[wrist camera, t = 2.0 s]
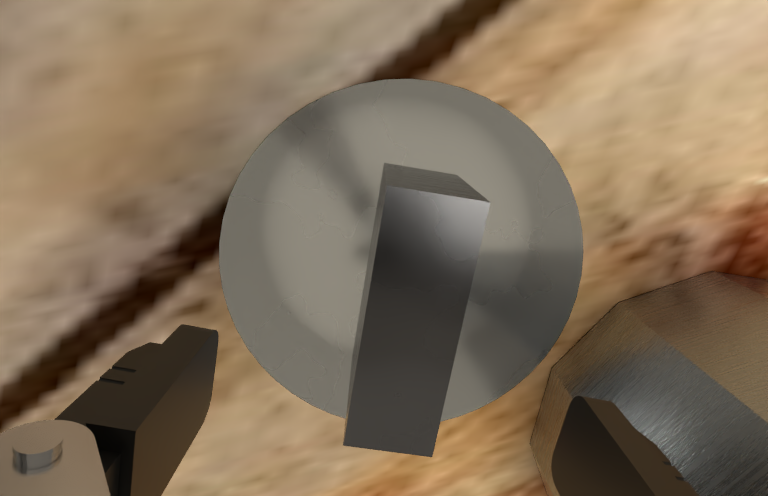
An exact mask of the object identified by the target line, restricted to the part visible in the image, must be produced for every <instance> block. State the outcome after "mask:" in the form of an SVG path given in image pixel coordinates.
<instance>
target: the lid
mask: <svg viewBox="0 0 768 496" xmlns="http://www.w3.org/2000/svg"><path fill="white" fill-rule="evenodd" d="M582 262H583V238H582V227H581V222H580V217H579V212H578V207H577V204H576V201H575V198H574V195H573V192H572V189H571V187H570V184H569V182H568V180H567V178H566V176H565V174H564V172H563V170H562V168H561V167H560V165H559V163H558V162H557V160H556V159H555V157H554V156H553V155H552V153H551V152H550V150H549V149H548V147H547V146H546V145H545V143H544V142H543V141H542V140H541V139H540V138H539V137H538V136H537V135H536V134H535V133H534V132H533V131H532V130H531V129H530V128H529V127H528V126H527V125H526V124H525V123H523V122H522V121H521V120H520V119H518V118H517V117H516V116H515V115H513V114H512V113H511V112H510V111H508V110H507V109H505V108H503V107H501V106H500V105H498V104H496V103H495V102H493V101H491V100H489V99H488V98H486V97H483V96H481V95H478V94H476V93H473V92H471V91H469V90H466V89H464V88H460V87H456V86H452V85H448V84H444V83H440V82H436V81H427V80H417V79H390V80H380V81H374V82H368V83H362V84H357V85H354V86H351V87H348V88H345V89H342V90H338V91H335V92H333V93H330V94H328V95H326V96H324V97H322V98H320V99H318V100H316V101H314V102H312V103H310V104H308V105H307V106H305V107H304V108H302V109H301V110H299V111H298V112H296V113H294V114H293V115H291V116H290V117H288V118H287V119H286V120H285V121H284V122H283V123H282V124H280V125H279V126H278V127H277V128H276V129H275V130H274V131H273V132H271V133H270V134H269V135H268V136H267V138H266V139H265V140H264V141H263V142H262V143H261V145H260V146H259V147H258V148H257V149H256V150H255V152H254V153H253V154H252V156H251V157H250V159H249V160H248V162H247V164H246V165H245V167H244V168H243V170H242V171H241V173H240V175H239V177H238V179H237V181H236V183H235V186H234V188H233V190H232V192H231V194H230V197H229V200H228V203H227V207H226V210H225V214H224V217H223V221H222V228H221V235H220V242H219V267H220V275H221V282H222V289H223V292H224V296H225V300H226V303H227V307H228V310H229V313H230V315H231V317H232V320H233V322H234V324H235V327H236V329H237V331H238V333H239V334H240V336H241V338H242V339H243V341H244V343H245V345H246V346H247V348H248V349H249V351H250V352H251V353H252V355H253V356H254V357H255V358H256V360H257V361H258V362H259V364H260V365H261V366H262V367H263V368H264V369H265V370H266V371H267V372H268V373H269V374H270V375H271V376H272V377H273V378H274V379H275V380H276V381H277V382H278V383H280V384H281V385H282V386H284V387H285V388H286V389H287V390H289V391H290V392H291V393H293V394H294V395H296V396H297V397H299V398H301V399H302V400H304V401H306V402H307V403H309V404H311V405H312V406H315V407H317V408H319V409H321V410H324V411H326V412H328V413H330V414H333V415H336V416H339V417H342V418H346V422H345V432H344V442H343V445H344V446H351V447H359V448H366V449H374V450H382V451H389V452H397V453H405V454H412V455H420V456H427V457H432V455H433V451H434V447H435V442H436V438H437V433H438V429H439V425H440V421H444V420H448V419H452V418H455V417H459V416H461V415H464V414H466V413H469V412H471V411H474V410H477V409H479V408H481V407H483V406H485V405H486V404H488V403H490V402H492V401H494V400H496V399H498V398H499V397H501V396H502V395H503V394H505V393H506V392H508V391H509V390H511V389H512V388H514V387H515V386H516V385H517V384H518V383H520V382H521V381H522V380H523V379H524V378H525V377H526V376H528V375H529V374H530V373H531V372H532V371H533V370H534V369H535V368H536V366H537V365H538V364H539V363H540V362H541V361H542V360H543V359H544V357H545V356H546V355H547V354H548V352H549V351H550V349H551V348H552V346H553V345H554V344H555V342H556V341H557V339H558V338H559V336H560V334H561V332H562V330H563V328H564V326H565V324H566V322H567V321H568V319H569V316H570V313H571V311H572V308H573V305H574V303H575V300H576V297H577V292H578V288H579V284H580V279H581V273H582Z"/></svg>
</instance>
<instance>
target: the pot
mask: <svg viewBox="0 0 768 496" xmlns="http://www.w3.org/2000/svg"><path fill="white" fill-rule="evenodd" d="M576 396H584V397H589V398H595V399H601V400H606V401H611V402H613V403H614V404H615V405H616V406H617V407H618V409H619V410H620V411H621V412H622V413H623V415H624V416H625V417H626V418H627V419H628V421H629V422H630V423H631V424H632V425H633V427H634V428H635V429H636V430H638V431H639V432H640V433H641V434H643V435H644V436H645V437H647V438H648V439H649V440H651V441H652V442H653V443H655V444H656V445H657V446H658V448H659V449H660V450H661V451H662V452H663V453H664V455H665V456H666V457H667V458H668V459H669V460H670V462H671V466H675V468H676V469H677V470H678V471H679V472H680V473H681V475H682V476H683V477H684V481H686V482H688V483H689V484H690V485H691V486H692V487H693V489H694V490H695V491H696V492H697V493H698V495H699V496H768V280H765V279H759V278H752V277H746V276H740V275H734V274H727V273H721V272H715V271H711V272H708V273H705V274H702V275H699V276H696V277H693V278H690V279H687V280H684V281H681V282H678V283H675V284H672V285H669V286H666V287H663V288H660V289H657V290H654V291H651V292H649V293H646V294H643V295H640V296H637V297H634V298H631V299H628V300H625V301H622V302H619V303H618V304H617V305H616V306H615V307H614V308H612V309H611V310H610V311H609V312H608V313H607V314H606V315H605V316H604V317H603V318H602V319H601V320H600V321H599V322H598V323H597V324H596V325H595V326H594V327H593V328H592V329H591V330H590V331H589V332H588V333H587V334H586V335H585V336H584V337H583V338H582V339H581V340H580V341H579V342H578V343H577V344H576V345H575V346H574V347H573V348H572V349H571V350H570V351H569V352H568V353H567V354H566V355H565V356H564V357H563V358H562V359H560V360H559V361H558V362H557V363H556V364H555V365H554V366H553V367H552V370H551V373H550V376H549V380H548V383H547V387H546V390H545V393H544V397H543V400H542V404H541V407H540V410H539V414H538V417H537V421H536V424H535V428H534V431H533V434H532V438H531V441H530V446H531V449H532V452H533V455H534V457H535V460H536V463H537V466H538V469H539V472H540V475H541V478H542V481H543V484H544V487H545V490H546V492H547V495H548V496H560V495H559V493H558V491H557V489H556V487H555V484H554V482H553V478H552V470H551V463H552V456H553V452H554V449H555V446H556V443H557V440H558V437H559V434H560V431H561V428H562V425H563V422H564V419H565V416H566V413H567V410H568V407H569V405H570V403H571V401H572V399H573V398H574V397H576Z"/></svg>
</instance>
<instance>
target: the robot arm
mask: <svg viewBox="0 0 768 496" xmlns="http://www.w3.org/2000/svg"><path fill="white" fill-rule="evenodd" d="M217 348H218V332H217V330H211V329H206V328H200V327H194V326H189V325H180V326H179V327H178V328H177V329H176V330H175V331H174V332H173V333H172V334H171V335H170V336H169V337H168V338H167V339H166V341H165V342H164V343H163V344H157V343H151V342H150V343H147V344H145V345H143V346H141V347H138V348H136V349H134V350H131V351H129V352H127V353H126V354H125V355H124V356H123V357H122V358H121V359H120V360H118V361H117V362H116V363H115V364H114V365H113V367H112V369H109V370H108V371H107V372H105V373H104V374H103V375H102V376H101V377H100V380H99V381H96V382H95V383H93V384H92V385H91V386H90V387H89V388H88V389H87V390H86V391H85V392H84V393H83V394H82V395H80V396H79V397H78V398H77V399H76V400H75V401H74V402H73V403H72V404H71V405H70V406H69V407H67V408H66V409H65V410H64V411H63V412H62V413H61V414H60V415H59V416H58V417H57V418H56V419H54V420H44V421H37V422H32V423H27V424H24V425H20V426H17V427H14V428H12V429H10V430H7V431H5V432H3V433H1V434H0V496H161V495H162V493H163V491H164V490H165V488H166V486H167V485H168V483H169V481H170V479H171V478H172V476H173V474H174V473H175V471H176V469H177V467H178V466H179V464H180V462H181V460H182V459H183V457H184V455H185V454H186V452H187V450H188V448H189V447H190V445H191V443H192V442H193V440H194V438H195V436H196V435H197V433H198V431H199V429H200V428H201V426H202V424H203V422H204V420H205V417H206V415H207V412H208V409H209V405H210V401H211V396H212V388H213V380H214V372H215V364H216V356H217ZM551 470H552V478H553V482H554V484H555V487H556V489H557V491H558V493H559V495H560V496H699V495H698V493H697V492H696V491H695V490H694V489H693V487H692V486H691V485H690V484H689V483H688V482H686V481H684V477H683V476H682V475H681V473H680V472H679V471H678V470H677V469H676V468H675V466H671V462H670V460H669V459H668V458H667V457H666V456H665V455H664V453H663V452H662V451H661V450H660V449H659V448H658V446H657V445H656V444H655V443H653V442H652V441H651V440H649V439H648V438H647V437H645V436H644V435H643V434H641V433H640V432H639V431H638V430H636V429H635V428H634V427H633V425H632V424H631V423H630V422H629V421H628V419H627V418H626V417H625V416H624V415H623V413H622V412H621V411H620V410H619V409H618V407H617V406H616V405H615V404H614V403H613V402H611V401H606V400H601V399H595V398H589V397H584V396H576V397H574V398H573V399H572V401H571V403H570V405H569V407H568V410H567V413H566V416H565V419H564V422H563V425H562V428H561V431H560V434H559V437H558V440H557V443H556V446H555V449H554V452H553V456H552V463H551Z"/></svg>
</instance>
